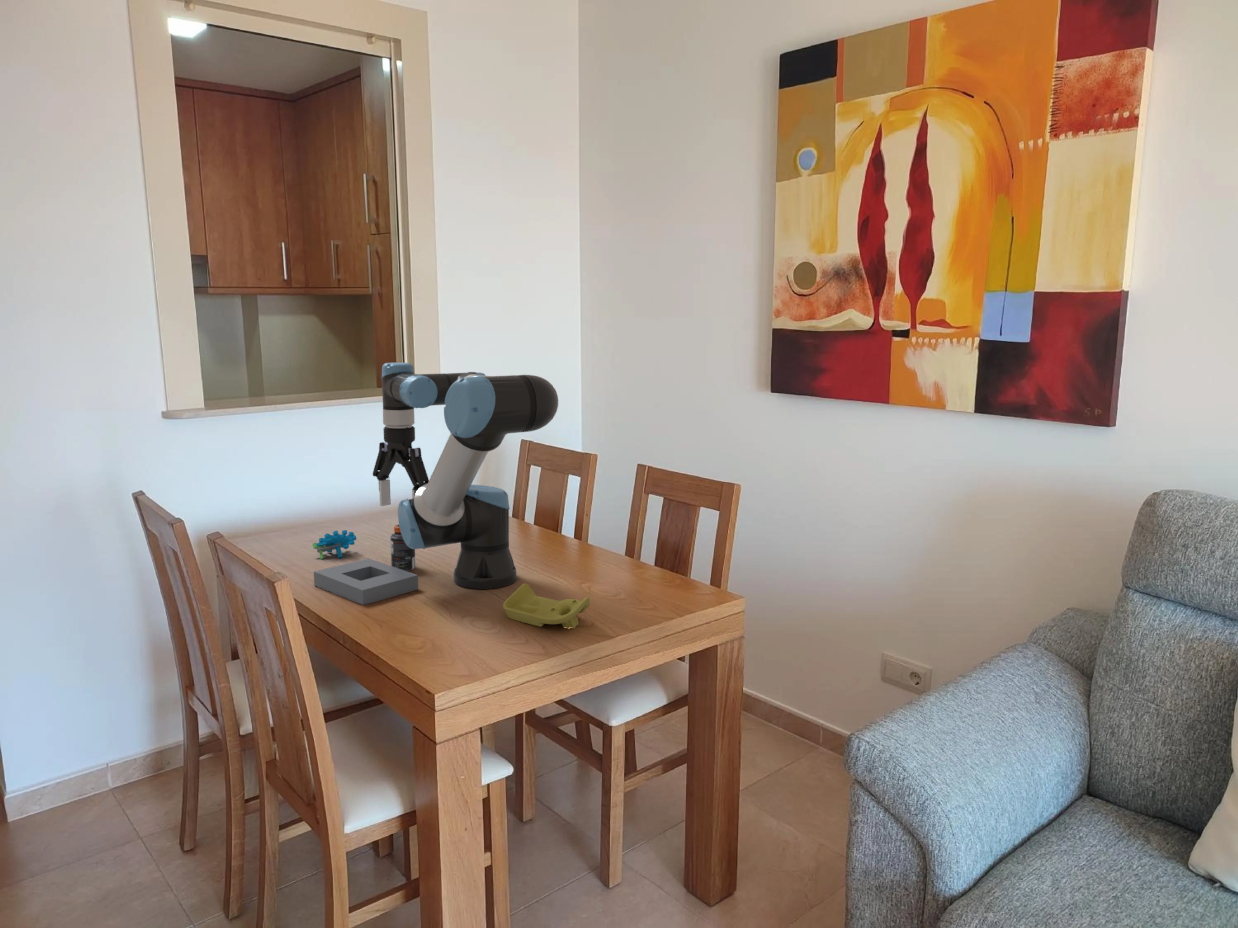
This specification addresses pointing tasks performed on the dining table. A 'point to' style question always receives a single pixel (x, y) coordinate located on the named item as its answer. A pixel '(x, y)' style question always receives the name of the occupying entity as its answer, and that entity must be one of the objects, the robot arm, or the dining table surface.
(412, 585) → the socket block
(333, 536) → the gear
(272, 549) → the dining table surface
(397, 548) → the pill bottle
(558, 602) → the plastic component
